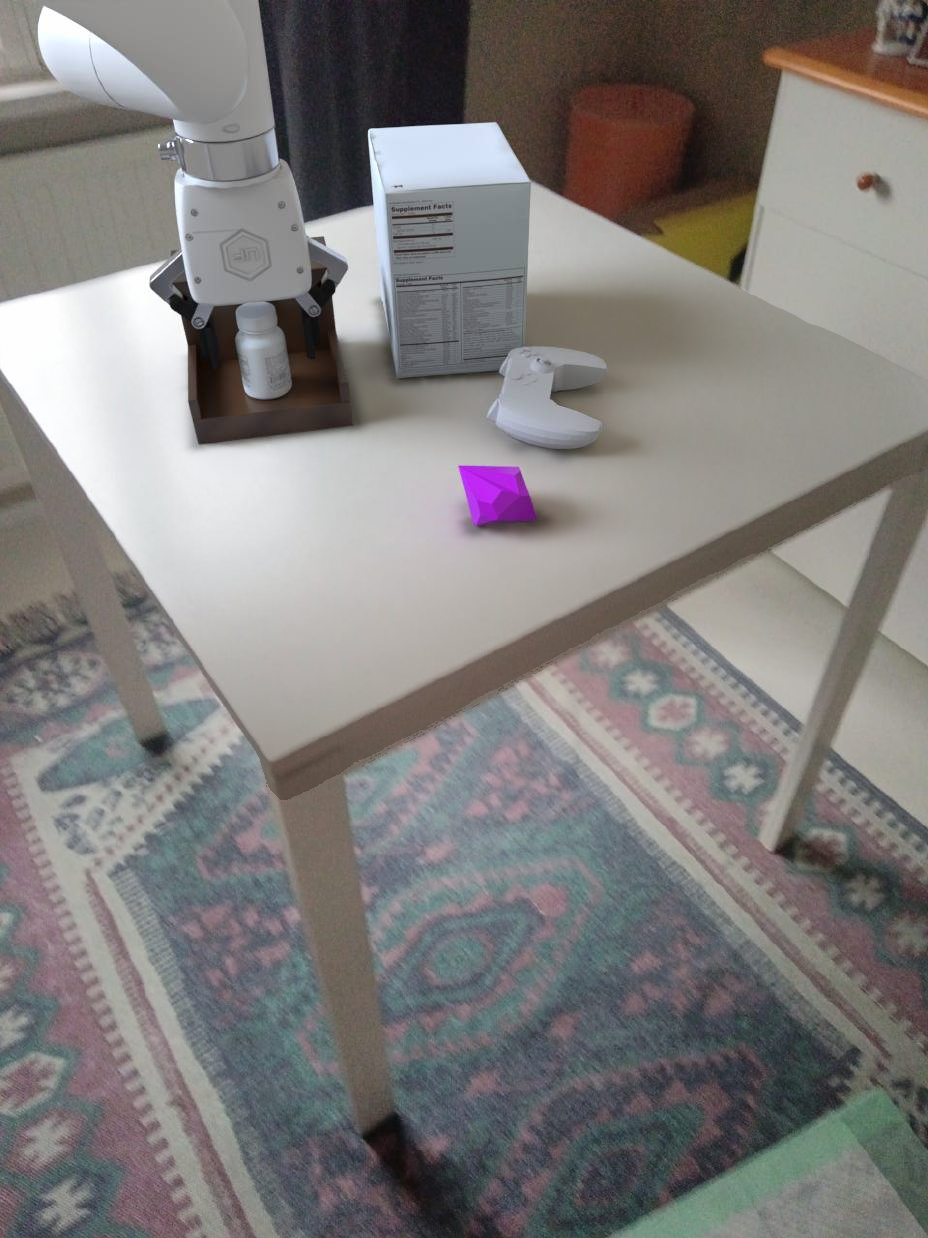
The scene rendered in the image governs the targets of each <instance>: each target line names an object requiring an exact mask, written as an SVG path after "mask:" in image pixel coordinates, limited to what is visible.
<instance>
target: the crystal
mask: <svg viewBox="0 0 928 1238" xmlns="http://www.w3.org/2000/svg"><path fill="white" fill-rule="evenodd" d="M457 467H458V471H459V475H460V478H461V481H462V485H463V490H464V493H465V497H466V501H467V504H468V508H469V512H470V515H471V519H472V523H473V525H474V526H475V527H476V526H477V527H478V526H490V525H500V524H509V523H520V522H521V523H522V522H531V521H532V522H533V521H538V520H539V519H538V516H537V514H536V510H535V507H534V504H533V501H532V498H531V495H530V492H529V490H528V487H527V484H526V482H525V479H524V477H523V474H522V471H521V468H520V466H508V465H507V466H506V465H464V464H463V465H460V464H458V465H457Z"/></svg>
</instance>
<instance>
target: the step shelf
mask: <svg viewBox="0 0 928 1238" xmlns="http://www.w3.org/2000/svg"><path fill="white" fill-rule="evenodd" d="M309 237H310V238H312V239H314V240H316V241H317V242H319V243H321V244H323V245H324V246H326V247H327V243H326V239H325V236H323V235H322V236H312V237H311V236H309ZM178 250H179V249H174V250H170V257H171V256H172V255H174V254H175V253H176V252H177V251H178ZM310 264H311V276H312V283H311V287H312V288H313V287H314V285H315V284H316V283H317V282H318V281H319V279H320V278H321V277H322V276H323V275H324V274H325V271H326V270H327V268H326V267H324V266H323V265H321V264H319V263H317V262H315V261H314V260H312V259H310ZM172 284H173V285H174V286H175V288H177V289H178V290H180V291H182V292H183V293H185V294H186V295H188V296H189V297H190V298H192V296H191V293H190V289H189V286H188V282H187V277H186V272H185V271H184V272H183V273H182V274H181V275H180V276H179V277H178V278H177V279H176V280H174V281H173V282H172ZM192 299H193V298H192ZM193 300H194V299H193ZM264 302H267V303H270V304H272V305H273V306H274V307H275V309H276V314H277V326H278V327H279V328H280V329H282V331H283V332H284V335H285V340H286V346H287V353H288V360H289V366H290V373H291V380H292V386H291V389H290V390H289V391H288V392H287V393H286V394H285V395H283V396H281V397H278V398H274V399H256V398H252V397H250V396H249V395H248V394H247V393H246V392H245V390H244V385H243V381H242V375H241V370H240V364H239V359H238V354H237V349H236V343H235V338H236V335H237V333H238V332H239V331H240V330H239V328H238V325H237V319H236V309H237V308H238V307H239V306H241V305H243V304H234V305H223V306H214V307H213V309H212V312H211V315H213V318H214V323H215V327H216V332H217V337H218V342H219V347H220V353H221V368H219V370H213V366H212V361H211V357H203V354H202V350H201V345H200V340H199V336H198V331H197V329H196V328H195V327H193V325H192V323H191V322H190V321H189V320H187V319H186V318H184V317H183V316H181V315H180V318H181V322H182V327H183V331H184V337H185V340H186V345H187V403H188V406H189V411H190V415H191V419H192V424H193V428H194V432H195V436H196V440H197V444H198V445H202V444H203V445H204V444H210V443H218V442H227V441H235V440H243V439H251V438H260V437H267V436H276V435H283V434H284V435H285V434H292V433H301V432H309V431H316V430H325V429H332V428H341V427H342V428H343V427H350V426H354V425H353V423H354V422H353V415H352V404H351V397H350V387H349V380H348V375H347V371H346V366H345V363H344V359H343V355H342V350H341V346H340V341H339V337H338V333H337V328H336V319H335V309H334V300H333V296H332V297H331V298H330V299H329V300H328V301H327V303H326V304H325V305H324V306H323V307H322V308H321V313H320V314H319V315H318V321H319V329H320V338H321V345H314V351H315V359H310V358H307V353H306V348H305V342H304V335H303V327H302V320H301V312H300V306H301V305H300V304H299V303H298V302H297V300H296V299H295V298H290V299H283V300H274V301H264Z"/></svg>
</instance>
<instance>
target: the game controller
mask: <svg viewBox="0 0 928 1238" xmlns="http://www.w3.org/2000/svg"><path fill="white" fill-rule="evenodd" d="M498 371H499V372H498V373H499V374H500V375H501V376H503V377H504V378H503V382H502V386H501V387H502V388H501V391H500V393H499V395H498V397H497V398H496V399H495V400H494V402H493V403H492V404H491V406H490V408H489V410H488V411H487V416H486V417H487V419H488V420H490V421H492V422H494V423H495V426H496V428H498V429H500V430H501V431H502V432H504V433H505V434H507V435H509V437H512V438H514V439H515V440H518V441H520V442H523V443H526V444H529V445H532V446H536V447H540V448H545V449H552V450H574V449H580V448H584V447H586V446H589V445H590V444H592V443H593V442H595V441H596V440H597V438H598V437H599V434H600V433H601V431H602V426H603V425H602V422H601V421H600V420H597V419H595V418H594V417H591V416H588V415H587V414H584V413H583V412H579V411H577V410H574V409H572V408H569V407H565V406H561V405H558V404H557V403H556V402H555V401H554V400H553V399H551V393H552V392H558V391H566V390H568V391H569V390H576V389H581V388H585V387H590V386H593V385H596V384H598V383H600V382H602V381H603V380H604V379H605V378H606V377H607V373H608V369H607V364H606V361H605V360H603V358H601V357H599V356H597V355H595V354H592V353H589V352H585V351H581V350H578V349H572V348H565V347H555V346H526V345H525V347H521V348H516V349H512V350H511V351H510V352H509V354H508V357H507V358H506V360H505V361H504V363H503V364H502V366H501V367H500V370H498Z"/></svg>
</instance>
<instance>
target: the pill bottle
mask: <svg viewBox="0 0 928 1238" xmlns="http://www.w3.org/2000/svg"><path fill="white" fill-rule="evenodd" d="M236 319H237V325H238V328H239V330H240V331H239V332H238V333H237V335H236V338H235V343H236V349H237V354H238V359H239V364H240V370H241V375H242V381H243V385H244V390H245V392H246V393H247V394H248V395H249V396H250V397H252V398H256V399H274V398H278V397H281V396H283V395H285V394H286V393H287V392H288V391H289V390H290V389H291V386H292V380H291V373H290V366H289V360H288V353H287V346H286V340H285V335H284V332H283V331H282V329H280V328H279V327H278V326H277V314H276V309H275V307H274V306H273V305H272V304H270V303H267V302H255V303H245V304H243V305H241V306H239V307H238V308H237V309H236Z"/></svg>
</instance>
